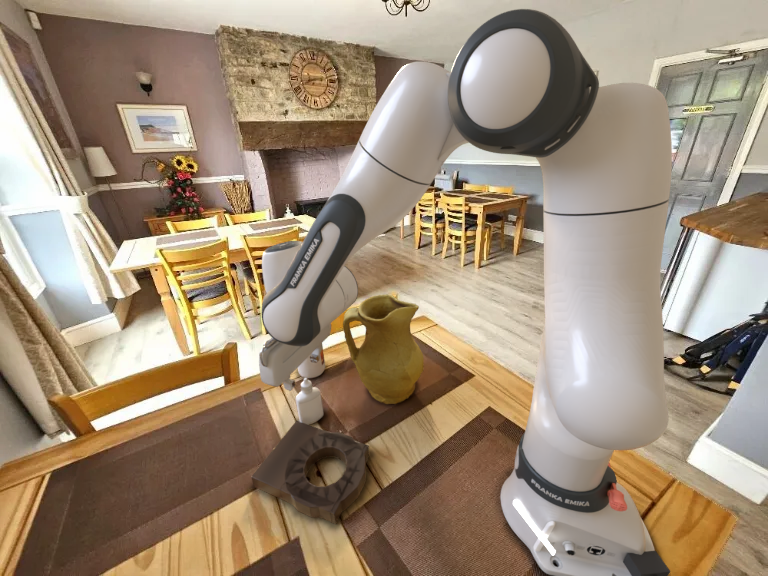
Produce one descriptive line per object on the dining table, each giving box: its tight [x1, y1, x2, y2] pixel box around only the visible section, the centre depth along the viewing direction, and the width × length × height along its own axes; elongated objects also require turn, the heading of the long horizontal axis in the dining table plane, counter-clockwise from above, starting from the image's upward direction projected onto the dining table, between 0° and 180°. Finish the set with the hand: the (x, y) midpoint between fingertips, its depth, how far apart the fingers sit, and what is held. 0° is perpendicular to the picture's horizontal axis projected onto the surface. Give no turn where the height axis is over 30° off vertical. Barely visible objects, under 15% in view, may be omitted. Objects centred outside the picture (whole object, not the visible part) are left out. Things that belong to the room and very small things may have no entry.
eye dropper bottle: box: [295, 377, 325, 425], centre depth 72 cm, size 4×6×12 cm
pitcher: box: [342, 293, 425, 405], centre depth 79 cm, size 17×19×25 cm
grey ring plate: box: [250, 420, 370, 525], centre depth 61 cm, size 20×15×3 cm
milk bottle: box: [297, 345, 326, 379], centre depth 86 cm, size 8×8×20 cm
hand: (303, 373), depth 69 cm, fingers open, 8 cm apart
